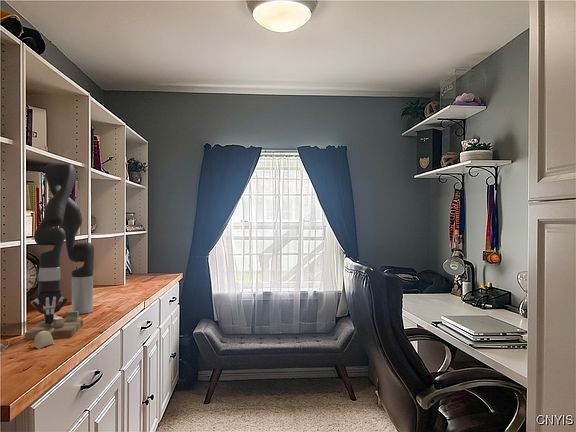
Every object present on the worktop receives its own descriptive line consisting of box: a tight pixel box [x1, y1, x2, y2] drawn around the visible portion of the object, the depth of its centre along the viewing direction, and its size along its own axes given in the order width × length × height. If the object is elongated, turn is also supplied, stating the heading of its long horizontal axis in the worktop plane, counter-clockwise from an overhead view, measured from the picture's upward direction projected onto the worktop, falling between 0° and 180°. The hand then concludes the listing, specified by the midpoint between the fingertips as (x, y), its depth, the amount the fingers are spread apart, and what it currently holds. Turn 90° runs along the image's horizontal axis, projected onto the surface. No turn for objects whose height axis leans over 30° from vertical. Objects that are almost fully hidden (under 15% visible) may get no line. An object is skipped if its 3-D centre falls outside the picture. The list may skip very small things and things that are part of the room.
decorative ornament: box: [33, 328, 56, 350], centre depth 159 cm, size 4×8×5 cm, turn 159°
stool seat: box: [24, 310, 84, 341], centre depth 178 cm, size 20×16×6 cm
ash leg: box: [43, 314, 65, 327], centre depth 180 cm, size 14×3×3 cm, turn 46°
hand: (48, 324), depth 174 cm, fingers closed
